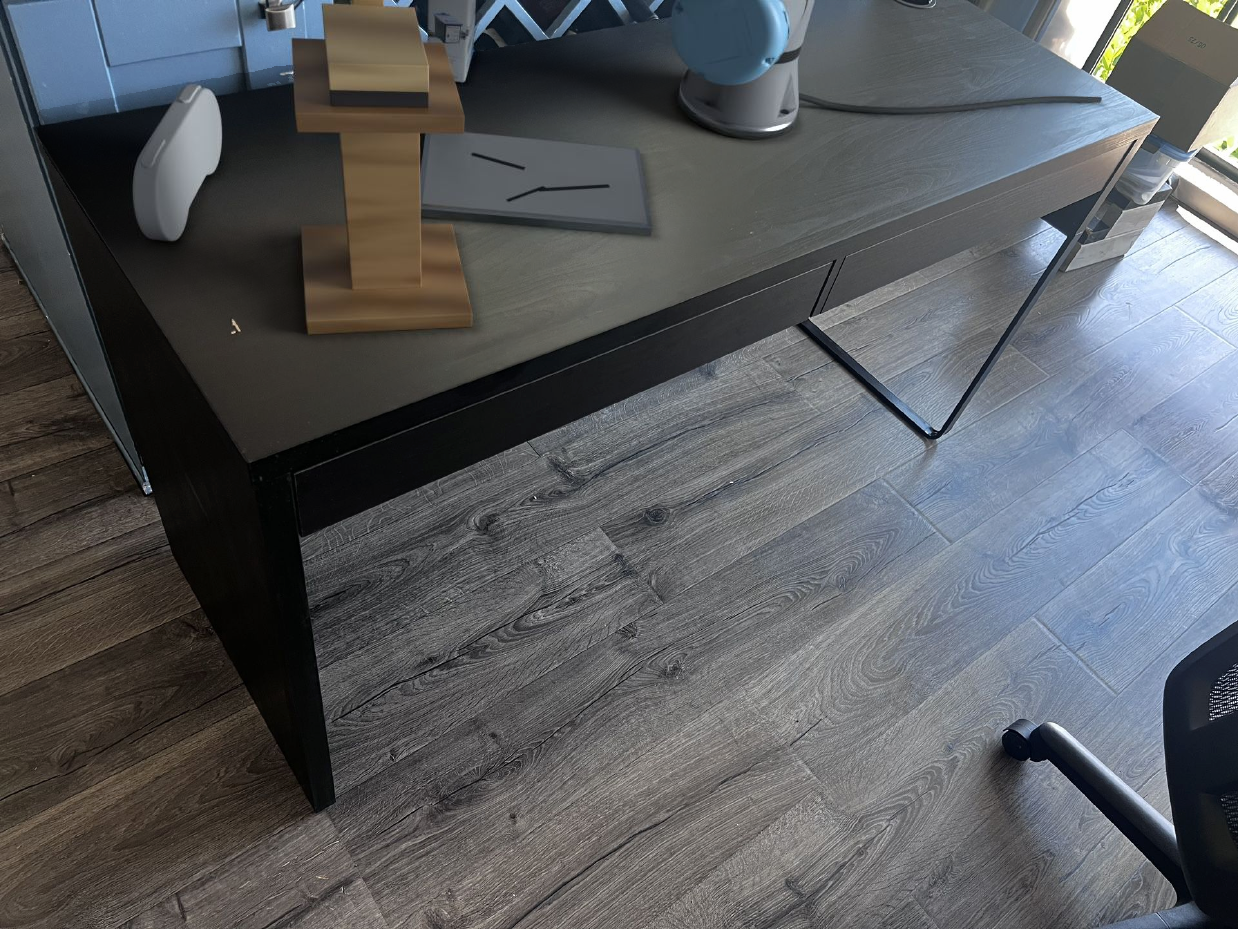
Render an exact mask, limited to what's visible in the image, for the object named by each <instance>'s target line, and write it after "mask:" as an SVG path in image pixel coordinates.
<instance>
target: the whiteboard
mask: <svg viewBox="0 0 1238 929" xmlns="http://www.w3.org/2000/svg"><path fill="white" fill-rule="evenodd" d="M642 163H643V162H642V157H641V151H640V148H634V147H626V146H625V147H623V146H613V145H603V144H595V143H594V144H593V143H583V142H574V141H573V142H571V141H563V140H562V141H561V140H551V139H542V138H531V137H521V136H511V135H501V134H491V133H481V132H479V133H478V132H471V131H470V132H469V131H464V134H444V133H424V141H423V150H422V158H421V163H420V209H421V218H429V219H430V218H431V219H441V220H454V221H465V222H466V221H467V222H475V223H476V222H478V223H488V224H489V223H490V224H491V223H492V224H502V225H512V226H513V225H514V226H527V227H537V228H538V227H539V228H551V229H562V230H563V229H564V230H572V231H573V230H575V231H586V232H587V231H588V232H600V233H609V234H610V233H611V234H623V235H636V236H649V237H652V234H653V228H654V226H653V222H652V216H651V215H652V214H651V211H650V204H649V198H648V192H647V187H646V181H645V174H644V169H643V164H642Z"/></svg>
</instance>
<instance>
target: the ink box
mask: <svg viewBox="0 0 1238 929" xmlns="http://www.w3.org/2000/svg"><path fill="white" fill-rule="evenodd" d="M427 4H428V5H427V42H426V43H444V44H445V48H446V51H447V55H448V58H449V62H450V66H451V69H452V73H453V76H454V80H455V82H459V83H464V82H466V79H467V76H468V72H469V69H470V65H471V62H472V59H473V55H474V44H475V28H476V27H475V25H476V5H477V0H428V2H427Z"/></svg>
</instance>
